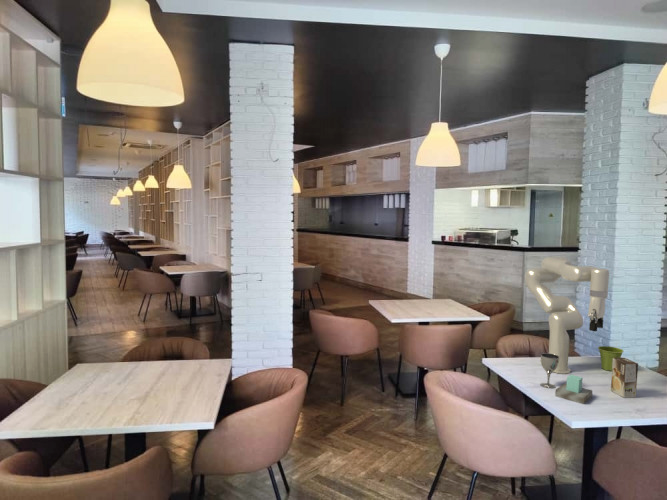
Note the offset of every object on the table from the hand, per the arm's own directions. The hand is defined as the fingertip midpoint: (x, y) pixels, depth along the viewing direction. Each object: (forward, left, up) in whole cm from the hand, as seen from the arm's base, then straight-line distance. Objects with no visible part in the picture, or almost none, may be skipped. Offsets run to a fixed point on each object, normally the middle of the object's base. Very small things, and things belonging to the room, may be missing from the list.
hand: (596, 329), depth 218 cm
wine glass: (-15, -16, -28) cm, 36 cm away
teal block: (-2, -21, -25) cm, 33 cm away
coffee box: (+13, 0, -28) cm, 31 cm away
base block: (-2, -21, -28) cm, 35 cm away
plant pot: (-1, +35, -28) cm, 45 cm away
